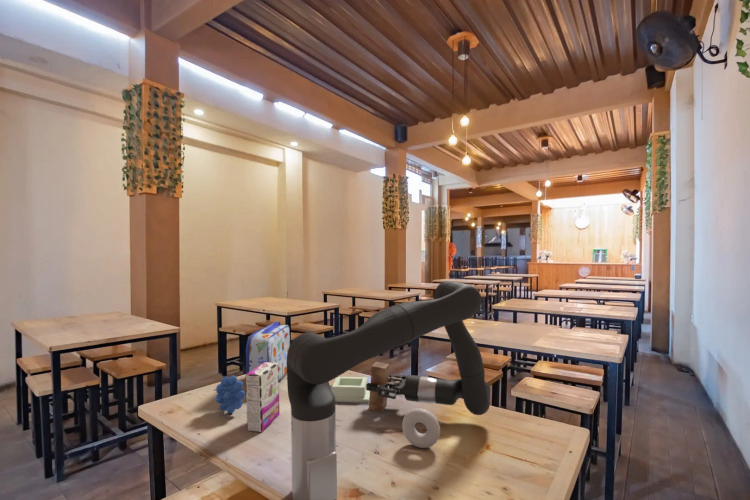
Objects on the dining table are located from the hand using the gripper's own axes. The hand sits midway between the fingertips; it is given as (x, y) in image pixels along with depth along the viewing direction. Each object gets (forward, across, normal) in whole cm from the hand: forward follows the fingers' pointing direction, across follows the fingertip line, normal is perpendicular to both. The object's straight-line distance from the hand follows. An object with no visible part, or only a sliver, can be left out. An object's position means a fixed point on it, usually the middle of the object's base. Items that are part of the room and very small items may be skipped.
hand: (370, 383), depth 118 cm
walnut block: (-2, 0, +8) cm, 8 cm away
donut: (-20, +18, +8) cm, 28 cm away
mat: (+10, -7, +8) cm, 15 cm away
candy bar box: (+27, +19, +8) cm, 34 cm away
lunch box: (+45, -10, +8) cm, 47 cm away
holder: (+10, -7, +8) cm, 14 cm away
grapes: (+41, +16, +8) cm, 44 cm away
